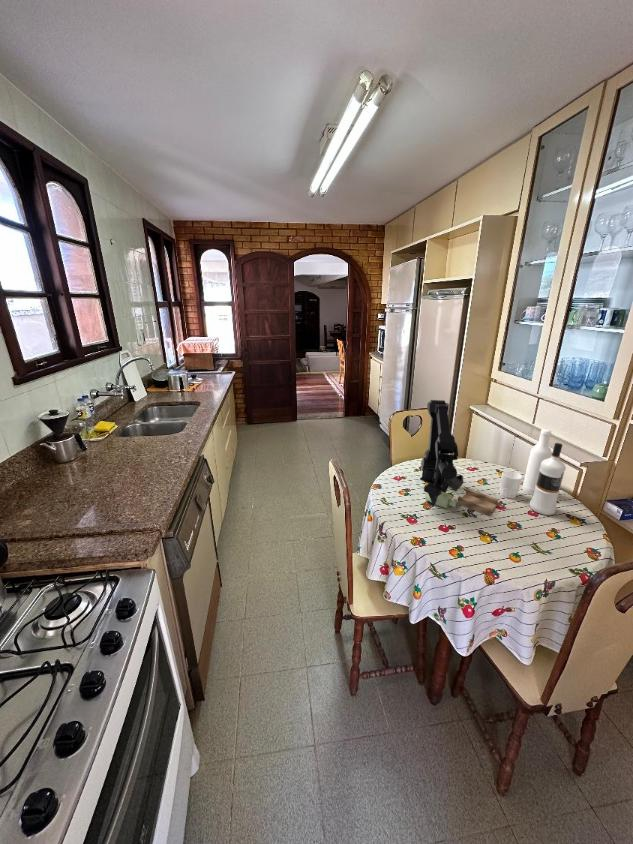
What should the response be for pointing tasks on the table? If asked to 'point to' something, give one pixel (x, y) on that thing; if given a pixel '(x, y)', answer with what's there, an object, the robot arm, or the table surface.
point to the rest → (478, 502)
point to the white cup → (510, 484)
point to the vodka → (548, 483)
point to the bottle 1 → (444, 500)
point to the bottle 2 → (536, 461)
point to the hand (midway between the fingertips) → (438, 500)
